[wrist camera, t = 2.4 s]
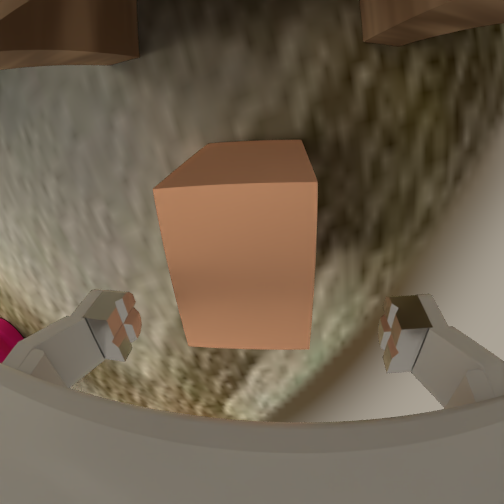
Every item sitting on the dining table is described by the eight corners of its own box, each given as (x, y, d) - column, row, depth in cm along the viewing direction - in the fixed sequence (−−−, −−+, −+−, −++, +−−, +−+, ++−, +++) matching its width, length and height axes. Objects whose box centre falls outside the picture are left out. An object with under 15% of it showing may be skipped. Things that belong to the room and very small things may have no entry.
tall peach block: (220, 252, 19) (188, 346, 13) (208, 143, 16) (152, 189, 9) (301, 251, 19) (309, 349, 12) (301, 139, 16) (317, 182, 9)
